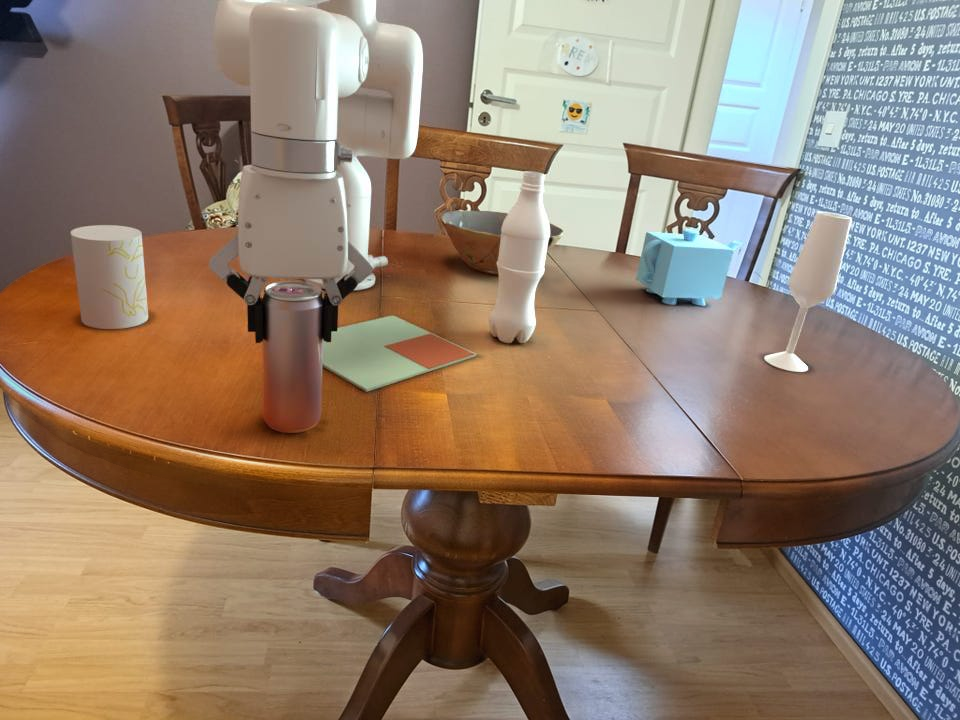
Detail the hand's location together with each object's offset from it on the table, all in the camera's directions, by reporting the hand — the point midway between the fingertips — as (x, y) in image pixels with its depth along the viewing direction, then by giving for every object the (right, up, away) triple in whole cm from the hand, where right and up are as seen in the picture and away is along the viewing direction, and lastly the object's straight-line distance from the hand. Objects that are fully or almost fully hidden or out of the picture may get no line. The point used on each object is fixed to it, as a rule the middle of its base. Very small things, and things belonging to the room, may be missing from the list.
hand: (293, 336), depth 68 cm
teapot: (+61, +10, +68) cm, 92 cm away
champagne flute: (+69, -3, +39) cm, 79 cm away
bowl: (+22, +16, +71) cm, 76 cm away
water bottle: (+24, +1, +35) cm, 42 cm away
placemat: (+5, -1, +25) cm, 25 cm away
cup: (-31, +3, +24) cm, 39 cm away
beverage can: (-1, -9, +4) cm, 10 cm away
